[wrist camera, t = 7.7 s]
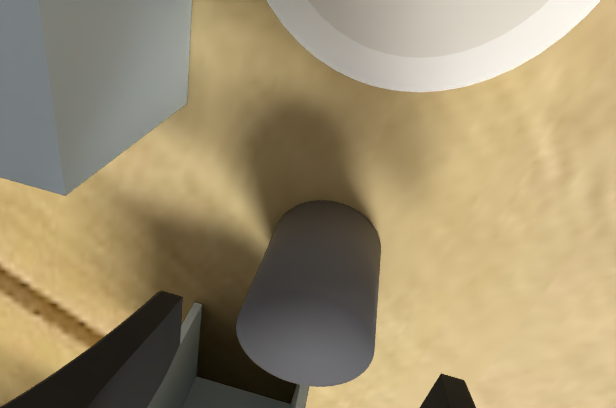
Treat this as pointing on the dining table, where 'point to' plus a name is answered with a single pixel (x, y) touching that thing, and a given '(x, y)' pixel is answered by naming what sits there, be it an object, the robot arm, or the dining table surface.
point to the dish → (427, 37)
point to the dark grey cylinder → (314, 297)
